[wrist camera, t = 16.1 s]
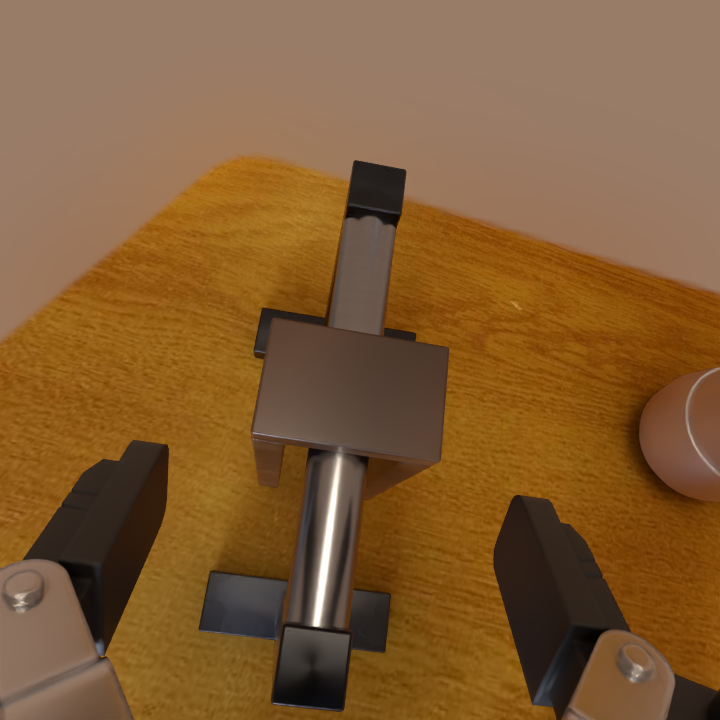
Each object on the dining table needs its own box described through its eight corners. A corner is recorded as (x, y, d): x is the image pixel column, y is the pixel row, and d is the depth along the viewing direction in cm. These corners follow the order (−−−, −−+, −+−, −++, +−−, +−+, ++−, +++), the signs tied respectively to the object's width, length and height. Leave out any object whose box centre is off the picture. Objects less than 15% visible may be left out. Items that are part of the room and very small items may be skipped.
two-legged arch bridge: (258, 485, 24) (250, 433, 13) (271, 414, 25) (272, 315, 14) (367, 500, 24) (441, 462, 14) (376, 430, 25) (450, 346, 15)
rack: (201, 628, 25) (111, 710, 12) (262, 314, 30) (248, 127, 17) (381, 649, 26) (487, 749, 12) (412, 339, 31) (511, 177, 17)
